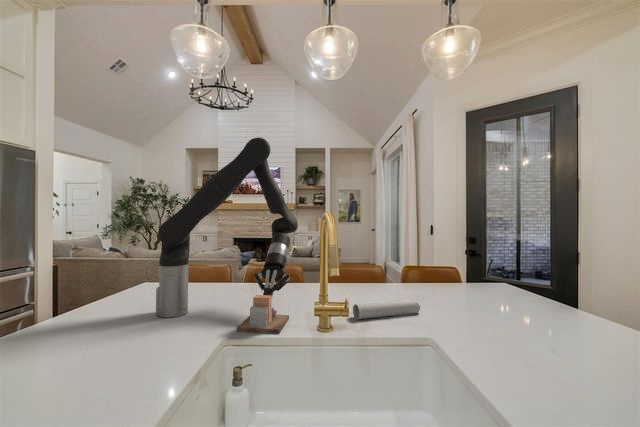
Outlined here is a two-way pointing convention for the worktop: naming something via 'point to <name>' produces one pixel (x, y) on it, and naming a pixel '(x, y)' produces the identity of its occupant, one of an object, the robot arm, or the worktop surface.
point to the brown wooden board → (273, 327)
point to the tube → (385, 309)
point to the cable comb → (274, 311)
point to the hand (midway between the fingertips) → (266, 300)
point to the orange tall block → (264, 303)
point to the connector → (259, 317)
